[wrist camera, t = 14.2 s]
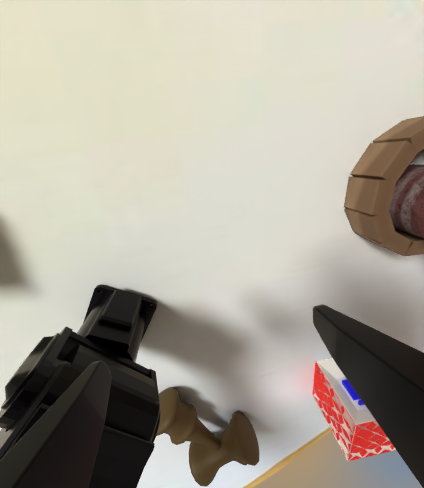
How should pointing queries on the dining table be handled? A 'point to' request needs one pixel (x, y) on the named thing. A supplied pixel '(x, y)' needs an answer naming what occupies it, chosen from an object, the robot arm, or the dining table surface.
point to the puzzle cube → (347, 413)
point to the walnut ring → (384, 187)
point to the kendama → (206, 438)
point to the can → (409, 201)
